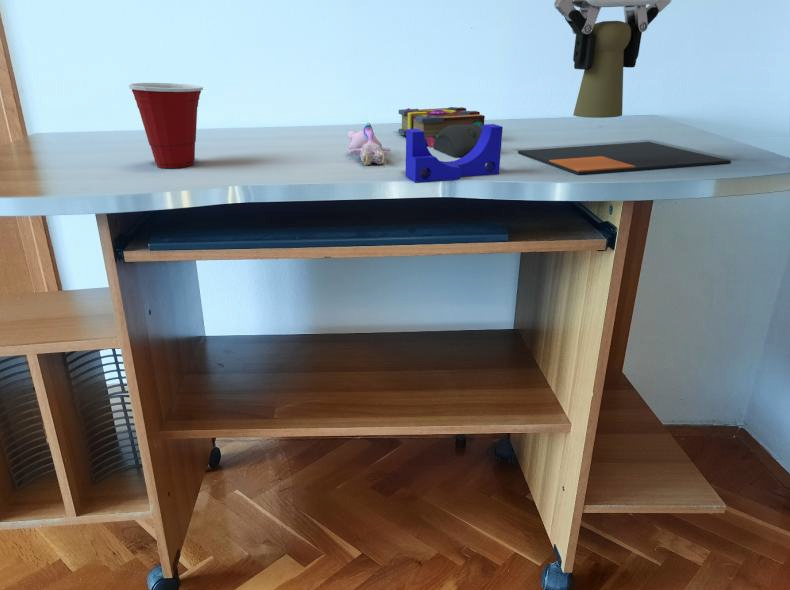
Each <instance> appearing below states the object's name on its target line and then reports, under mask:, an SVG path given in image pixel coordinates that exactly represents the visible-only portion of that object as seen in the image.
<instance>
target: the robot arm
mask: <svg viewBox="0 0 790 590" xmlns="http://www.w3.org/2000/svg"><path fill="white" fill-rule="evenodd" d="M671 2H672V0H555V1H554V3H553V5H554V8H555V9H556V10H557V11H558V13H559V14H560V15H561V16H562V17H564V20H565V21H566V23H567V24H568V25H569V26H570V28H571V32H572V34H574V35H575V39H574V47H573V48H574V49H573V55H572V56H573V57H572V60H573V63H574V65H573V68H574V69H575V70H589V69H590V68H592V63H593V55H594V48H595V40H596V36H595V34H592V30H593V27H594V25H595V24H596V23H597V19H598V17H599V14H600V12H601V9H602V8H619V7H620V8H622V7H623V15H624V22H626V23H628V24H629V26H630V28H631V38H630V41H629V44H628V45H627V46H626V48H625V49H624V60H623V68H635V67H636V64H637V59H638V57H639V53H640V48H641V47H640V46H641V42H642V34H643V33H644V32H646V31H647V30H648V26H649V25H650V24H651V23H652V22H653V21H654V19H656V18H657V16H658V15H659V13H661V12H662V11H663V10H664V9H665V8H666V7H668V5H670V4H671ZM647 5H648V6H647ZM577 8H579V9H577Z"/></svg>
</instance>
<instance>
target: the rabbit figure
mask: <svg viewBox="0 0 790 590" xmlns="http://www.w3.org/2000/svg"><path fill="white" fill-rule="evenodd" d="M371 124H372V123H370V122H366V123H365V124H364V126H363V130H359V131H356V130H349V131H348V132H347V136H348V140H350V144H349V145H348V150H349V151H348V152H349V154H353V155H355V156H360V162H361V163H362V164H363V165H364V166H369V165H370V166H371V165H372V164H376V165H382V164H383V167H385V164H386V165H387V164H388V162H387V159H386V156H385V152H391V148H390V147H384V146H382V143H381V142H380V140H379V139H378V138H377V137H376V135H375V132H374V130H373V127H372V125H371Z"/></svg>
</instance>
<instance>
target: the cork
mask: <svg viewBox="0 0 790 590" xmlns="http://www.w3.org/2000/svg"><path fill="white" fill-rule="evenodd" d="M592 34H595V36H596V40H595V48H594V55H593V63H592V68H590V69H589V70H584V71H583V74H582V79H581V81H580V86H579V90H578V94H577V97H576V102H575V105H574V106H575V107H574V110H573V114H572V116H573V117H578V118H587V119H588V118H593V119H599V118H600V119H605V118H606V119H607V118H608V119H609V118H617V117H618V118H619V117H622V116H623V98H624V67H623V60H624V49H625V48H626V46H627V45H628V44H629V41H630V38H631V28H630V26H629V24H628V23H626V22H625V21H622V20H604V21H599V22H595V25H594V27H593V30H592Z"/></svg>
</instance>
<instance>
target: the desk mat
mask: <svg viewBox="0 0 790 590" xmlns="http://www.w3.org/2000/svg"><path fill="white" fill-rule="evenodd" d="M517 154H519V155H522V156H524V157H528V158H530V159H533V160H536V161H539V162H542V163H543V164H547V165H549V166H553V167H556V168H558V169H561V170H564V171H567V172H569V173H572V174H574V175H578V176H583V175H597V174H598V175H599V174H608V173H609V174H610V173H622V172H635V171H647V170H661V169H673V168H674V169H675V168H687V167H699V166H700V167H701V166H714V165H726V164H727V165H728V164H731V163H732V159H726V158H722V157H718V156H713V155H709V154H705V153H700V152H696V151H691V150H687V149H683V148H679V147H674V146H671V145H670V146H669V145H665V144H661V143H656V142H652V141H640V142H639V141H637V142H623V143H608V144H593V145H580V146H579V145H578V146H566V147H564V146H563V147H551V148H549V147H548V148H538V149H537V148H536V149H534V148H533V149H523V150H517Z"/></svg>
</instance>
